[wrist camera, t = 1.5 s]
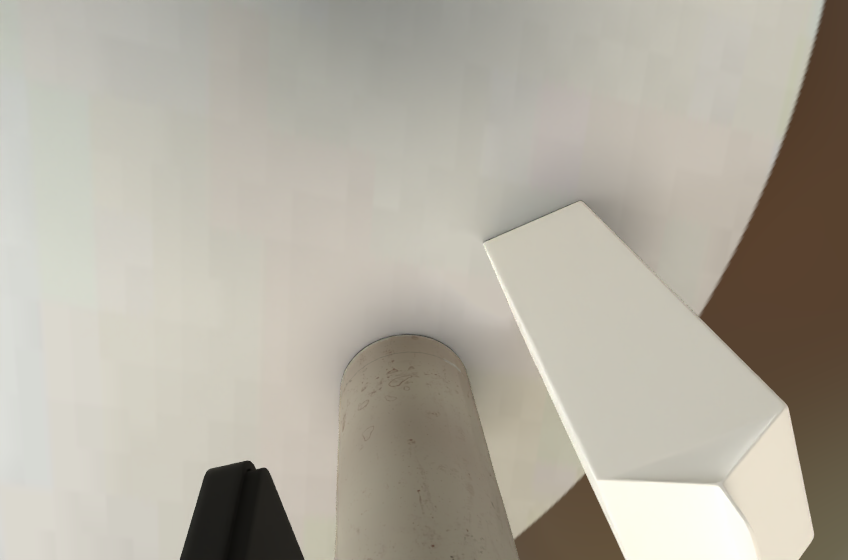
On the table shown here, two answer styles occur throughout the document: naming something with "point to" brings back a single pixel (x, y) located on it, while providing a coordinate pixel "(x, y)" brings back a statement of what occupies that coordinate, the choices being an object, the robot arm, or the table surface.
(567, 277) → the milk
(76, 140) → the table surface
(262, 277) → the table surface
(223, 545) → the robot arm
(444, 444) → the thermos bottle
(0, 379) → the table surface
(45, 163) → the table surface
